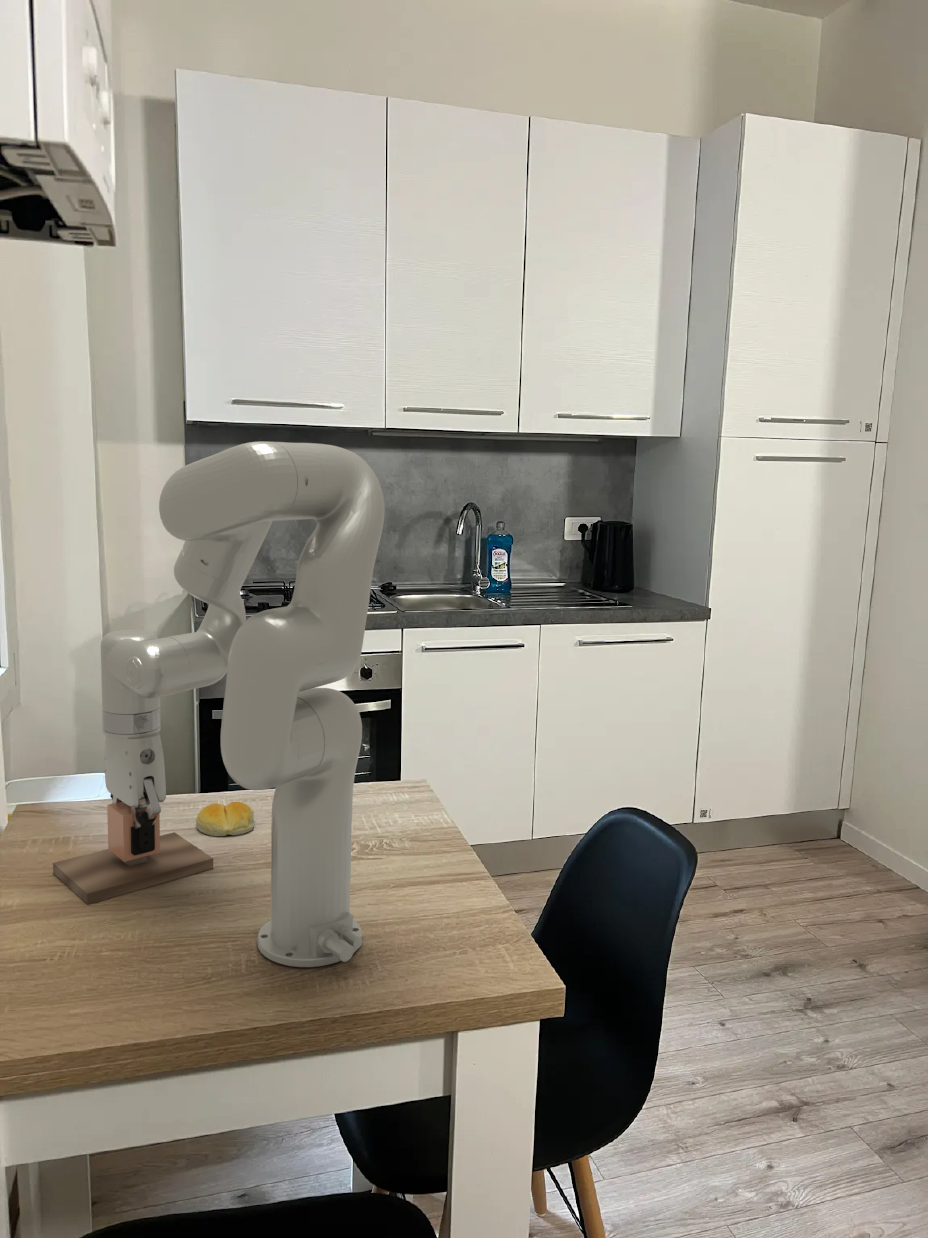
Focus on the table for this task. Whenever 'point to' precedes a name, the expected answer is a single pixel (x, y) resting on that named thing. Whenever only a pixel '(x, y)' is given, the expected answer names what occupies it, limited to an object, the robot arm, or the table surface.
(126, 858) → the salmon orange block
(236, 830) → the bread roll
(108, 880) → the flat brown rectangular board
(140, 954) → the table surface
